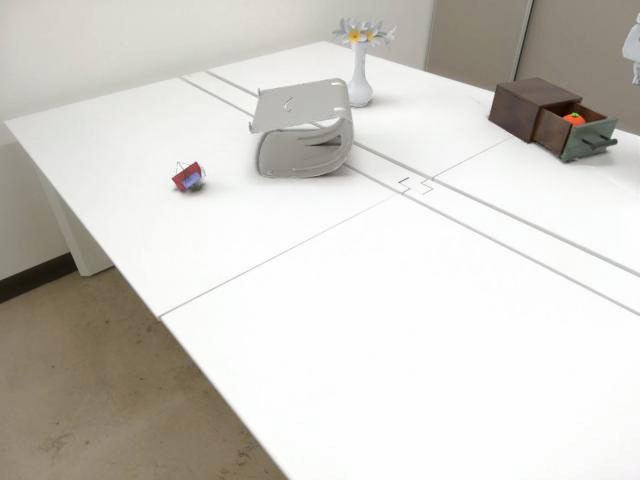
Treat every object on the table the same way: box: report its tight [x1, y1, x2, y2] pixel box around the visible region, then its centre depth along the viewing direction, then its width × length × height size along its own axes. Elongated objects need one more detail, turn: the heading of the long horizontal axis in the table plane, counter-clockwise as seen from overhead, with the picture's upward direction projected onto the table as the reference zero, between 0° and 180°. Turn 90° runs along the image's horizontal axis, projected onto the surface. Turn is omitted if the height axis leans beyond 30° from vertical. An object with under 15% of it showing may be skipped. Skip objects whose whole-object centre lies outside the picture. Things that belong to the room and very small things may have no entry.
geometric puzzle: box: [170, 160, 207, 192], centre depth 104 cm, size 7×7×8 cm
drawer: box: [532, 102, 620, 161], centre depth 116 cm, size 20×13×9 cm
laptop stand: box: [248, 77, 355, 179], centre depth 114 cm, size 26×24×16 cm
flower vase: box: [331, 14, 398, 108], centre depth 137 cm, size 13×18×25 cm
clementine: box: [563, 113, 586, 141], centre depth 118 cm, size 8×7×7 cm
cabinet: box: [487, 76, 584, 145], centre depth 127 cm, size 17×15×11 cm
